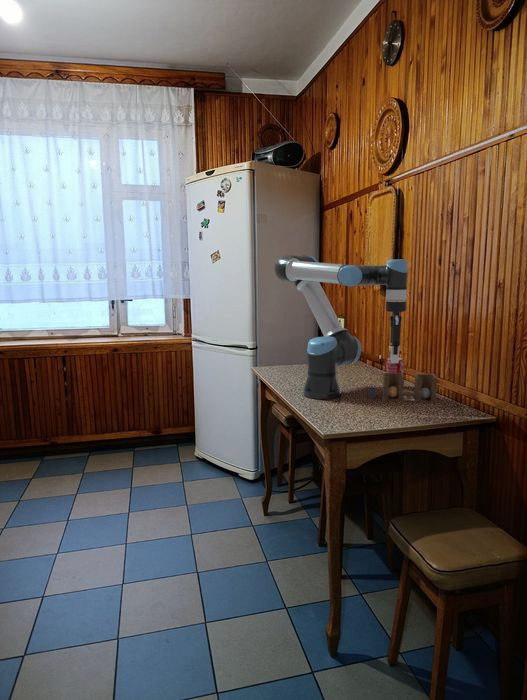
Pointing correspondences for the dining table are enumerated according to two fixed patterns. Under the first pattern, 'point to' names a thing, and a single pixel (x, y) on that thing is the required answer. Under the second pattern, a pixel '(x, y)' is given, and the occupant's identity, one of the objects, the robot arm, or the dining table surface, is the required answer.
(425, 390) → the grey ball
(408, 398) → the rack
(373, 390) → the rubber stand
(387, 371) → the soda can
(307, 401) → the dining table surface
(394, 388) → the brown ball in tube
